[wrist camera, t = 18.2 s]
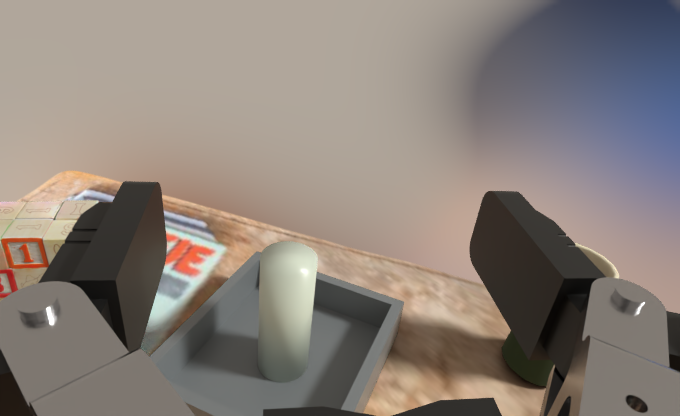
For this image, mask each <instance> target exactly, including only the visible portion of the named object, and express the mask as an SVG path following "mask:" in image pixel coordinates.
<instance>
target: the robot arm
mask: <svg viewBox="0 0 680 416" xmlns="http://www.w3.org/2000/svg"><path fill="white" fill-rule="evenodd" d="M575 245H576V244H575V243H574V242H573V241H572V240H571V239H570V238H569V237H566V234H565V232H564V231H563V230H562V229H561V228H560V227H559V226H558V225H557V224H556V223H555V222H554V221H553V220H551V219H549V218H548V217H546V216H544V215H543V214H541V213H540V212H538V211H536V210H535V209H534V208H533V207H532V206H531V205H530V204H529V202H528V201H526V199H525V198H524V197H523V196H522V195H521V194H520V193H519V192H512V191H488V192H487V193H486V194H485V195H484V197H483V200H482V203H481V206H480V210H479V213H478V217H477V220H476V224H475V227H474V231H473V234H472V238H471V241H470V258H471V261H472V264H473V266H474V268H475V270H476V271H477V273H478V275H479V276H480V278H481V280H482V281H483V283H484V285H485V287H486V288H487V290H488V292H489V293H490V295H491V297H492V298H493V300H494V302H495V304H496V305H497V307H498V309H499V310H500V312H501V314H502V315H503V317H504V319H505V321H506V322H507V324H508V326H509V327H510V329H511V331H512V333H513V334H514V336H515V338H516V339H517V341H518V343H519V344H520V346H521V348H522V350H523V351H524V353H525V355H526V356H527V358H528V360H529V361H532V360H552V362H553V363H554V366H553V368H552V370H551V372H550V375H549V378H548V382H547V386H546V390H545V395H544V399H543V403H542V407H541V411H540V416H680V314H678V313H673V312H668V311H666V309H665V307H664V306H663V304H662V303H661V301H660V300H659V299H658V298H657V297H656V296H654V295H653V294H652V293H650V292H649V291H647V290H646V289H644V288H642V287H641V286H638V285H636V284H634V283H632V282H629V281H626V280H623V279H618V278H612V277H606V276H605V275H604V274H603V273H602V272H601V271H600V270H599V269H598V268H597V267H596V266H595V264H594V263H593V262H592V261H591V260H590V259H589V258H588V257H587V256H586V255H585V254H584V253H583V252H582V251H581V250H580V248H579V247H576V246H575ZM166 251H167V240H166V230H165V220H164V211H163V201H162V192H161V187H160V184H159V183H158V182H126V181H125V182H123V183H122V185H121V187H120V189H119V191H118V192H117V194H116V196H115V198H114V200H113V202H98V203H97V204H95V205H94V206H92V207H91V208H89V209H88V210H87V211H85V212H84V213H82V214H81V215H80V217H79V218H78V220H77V222H76V223H75V225H74V226H73V228H72V232H70V233H69V234H68V236H67V238H66V239H65V244H62V246H61V247H60V249H59V250H58V252H57V254H56V255H55V257H54V258H53V260H52V262H51V263H50V265H49V266H48V268H47V270H46V271H45V273H44V274H43V276H42V278H41V279H40V281H39V282H38V283H37V284H33V285H30V286H27V287H24V288H22V289H19V290H17V291H15V292H13V293H11V294H10V295H8V296H7V297H5V298H4V299H3V300H1V301H0V416H195V415H194V413H193V412H192V411H191V410H190V408H189V407H188V406H187V405H186V403H185V402H184V401H183V399H182V398H181V397H180V396H179V394H178V393H177V392H176V390H175V389H174V388H173V387H172V385H171V384H170V383H169V381H168V380H167V379H166V378H165V376H164V375H163V374H162V373H161V371H160V370H159V369H158V367H157V366H156V365H155V364H154V362H153V361H152V360H151V358H150V357H149V356H148V355H147V354H146V353H145V352H144V351H143V350H142V349H140V347H141V343H142V340H143V336H144V333H145V330H146V326H147V323H148V320H149V316H150V313H151V309H152V306H153V303H154V299H155V296H156V292H157V289H158V286H159V282H160V279H161V275H162V272H163V269H164V265H165V260H166ZM263 416H374V415H369V414H363V413H358V412H352V411H347V410H341V409H335V408H330V407H324V406H319V407H298V408H278V409H263ZM393 416H502V415H501V413H500V411H499V409H498V407H497V404H496V402H495V400H494V398H479V399H459V400H440V401H437V402H434V403H430V404H427V405H424V406H421V407H418V408H415V409H412V410H408V411H405V412H402V413H399V414H396V415H393Z"/></svg>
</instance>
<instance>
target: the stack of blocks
mask: <svg viewBox="0 0 680 416" xmlns="http://www.w3.org/2000/svg"><path fill="white" fill-rule="evenodd" d="M98 202H99V201H64V202H62V201H37V202H35V201H31V202H27V203H26V202H0V301H1V300H3V299H4V298H5V297H7V296H8V295H10V294H11V293H13V292H15V291H17V290H19V289H22V288H24V287H27V286H30V285H33V284H37V283H38V282H39V281H40V279H41V278H42V276H43V274H44V273H45V271H46V270H47V268H48V266H49V265H50V263H51V262H52V260H53V258H54V257H55V255H56V254H57V252H58V250H59V249H60V247H61V246H62V244H65V239H66V238H67V236H68V234H69V233H70V232H72V228H73V226H74V225H75V223H76V222H77V220H78V218H79V217H80V215H81V214H82V213H84V212H85V211H87V210H88V209H89V208H91V207H92V206H94V205H95V204H97V203H98Z"/></svg>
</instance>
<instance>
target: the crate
mask: <svg viewBox="0 0 680 416" xmlns="http://www.w3.org/2000/svg"><path fill="white" fill-rule="evenodd" d="M260 255H261V253H260V252H256V253H255V254H254V255H253V256H251V257H250V258H249V259H248V260H247V261H246V262H245V263H244V264H243V265H242V266H241V267H240V268H239V269H238V270H237V271H236V272H235V273H234V274H233V275H232V276H231V277H230V278H229V279H228V280H227V281H226V282H225V283H224V284H223V285H222V286H221V287H220V288H219V289H218V290H217V291H216V292H215V293H214V294H213V295H212V296H211V297H210V298H209V299H208V300H207V301H206V302H205V303H204V304H202V305H201V306H200V307H199V308H198V309H197V310H196V311H195V312H194V313H193V314H192V315H191V316H190V317H189V318H188V319H187V320H186V321H185V322H184V323H183V324H182V325H181V326H180V327H179V328H178V329H177V330H176V331H175V332H174V333H173V334H172V335H171V336H170V337H169V338H168V339H167V340H166V341H165V342H164V343H163V344H162V345H161V346H160V347H159V348H158V349H157V350H156V351H155V352H153V353H152V354H151V355H150V356H149V357H150V358H151V360H152V361H153V362H154V364H155V365H156V366H157V367H158V369H159V370H160V371H161V373H162V374H163V375H164V376H165V378H166V379H167V380H168V381H169V383H170V384H171V385H172V387H173V388H174V389H175V390H176V392H177V393H178V394H179V396H180V397H181V398H182V399H183V401H184V402H185V403H186V405H187V406H188V407H189V408H190V410H191V411H192V412H193V413H194V415H195V416H263V409H278V408H298V407H319V406H324V407H330V408H335V409H341V410H347V411H352V412H358V413H363V412H364V409H365V407H366V405H367V402H368V400H369V398H370V396H371V393H372V391H373V389H374V386H375V384H376V382H377V380H378V377H379V375H380V373H381V370H382V368H383V366H384V363H385V361H386V359H387V357H388V354H389V352H390V350H391V347H392V345H393V343H394V341H395V338H396V336H397V333H398V328H399V324H400V319H401V315H402V310H403V306H404V302H403V301H400V300H397V299H394V298H391V297H388V296H386V295H383V294H380V293H377V292H374V291H371V290H368V289H365V288H362V287H359V286H356V285H354V284H351V283H348V282H345V281H342V280H339V279H336V278H333V277H330V276H327V275H324V274H322V273H319V272H317V273H316V283H315V294H314V304H313V314H312V324H311V335H310V345H309V355H308V365H307V369H306V371H305V372H304V374H303V375H302V376H301V377H299V378H298V379H296V380H293V381H290V382H284V383H282V382H275V381H271V380H269V379H267V378H266V377H264V376H263V375H262V373H261V372H260V370H259V368H258V328H259V282H260Z"/></svg>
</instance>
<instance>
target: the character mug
mask: <svg viewBox="0 0 680 416" xmlns="http://www.w3.org/2000/svg"><path fill="white" fill-rule="evenodd" d="M575 244H576V245H575V246H576V247H579V248H580V250H581V251H582V252H583V253H584V254H585V255H586V256H587V257H588V258H589V259H590V260H591V261H592V262H593V263H594V264H595V266H596V267H597V268H598V269H599V270H600V271H601V272H602V273H603V274H604V275H605V276H606V277H612V278H618V279H619V274H618V272H617V270H616V268H615V266H614V265H613V264H612V263H610V262H609V261H608V260H607V259H606V258H605V257H604V256H602V255H600V254H599V253H597V252H595V251H593V250H592V249H590V248H587V247H585V246H582V245H580V244H577V243H575ZM502 353H503V357H504V359H505V360H506V362H507V363H508V365H509V366H510V368H511V369H512V370H513V371H515V372H516V373H517V374H518V375H519V376H520V377H522V378H523V379H525V380H527V381H529V382H531V383H533V384H535V385H538V386H547V382H548V378H549V375H550V372H551V370H552V368H553V366H554V363H553V362H552V360H532V361H529V360H528V358H527V356H526V355H525V353H524V351H523V350H522V348H521V346H520V344H519V343H518V341H517V339H516V338H515V336H514V334H513V333H512V331H511V332H510V334H509V335H508V337H507V339H506V341H505V343H504V345H503V347H502Z"/></svg>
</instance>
